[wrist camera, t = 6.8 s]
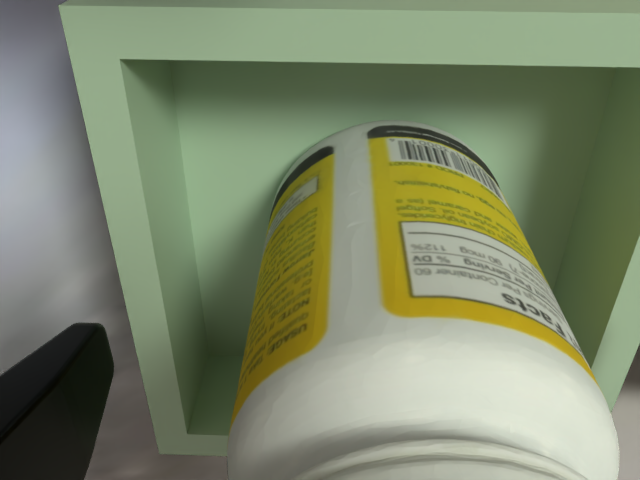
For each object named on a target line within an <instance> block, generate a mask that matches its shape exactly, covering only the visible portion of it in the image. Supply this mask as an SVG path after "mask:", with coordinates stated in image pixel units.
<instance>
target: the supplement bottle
mask: <svg viewBox="0 0 640 480" xmlns="http://www.w3.org/2000/svg"><path fill="white" fill-rule="evenodd" d="M227 469H228V480H617V478H618V472H619V444H618V437H617V432H616V429H615V426H614V423H613V419H612V416H611V413H610V410H609V407H608V404H607V402H606V399H605V397H604V395H603V393H602V391H601V389H600V387H599V385H598V383H597V381H596V379H595V377H594V375H593V373H592V371H591V369H590V367H589V364H588V362H587V361H586V359H585V357H584V355H583V353H582V351H581V349H580V347H579V345H578V343H577V341H576V339H575V336H574V334H573V332H572V330H571V329H570V327H569V325H568V323H567V321H566V319H565V317H564V315H563V313H562V311H561V309H560V307H559V304H558V302H557V300H556V298H555V296H554V294H553V292H552V290H551V289H550V287H549V285H548V283H547V281H546V279H545V277H544V274H543V272H542V270H541V268H540V266H539V264H538V262H537V260H536V258H535V256H534V254H533V252H532V250H531V249H530V247H529V244H528V242H527V240H526V238H525V236H524V234H523V232H522V231H521V229H520V227H519V225H518V223H517V221H516V219H515V217H514V215H513V213H512V211H511V209H510V207H509V205H508V203H507V201H506V199H505V197H504V195H503V193H502V192H501V190H500V187H499V185H498V182H497V181H496V179H495V177H494V176H493V174H492V172H491V171H490V169H489V168H488V166H487V165H486V163H485V162H484V161H483V160H482V159H481V157H480V156H479V155H478V154H477V153H476V152H475V151H474V150H473V149H472V148H470V147H469V146H468V145H467V144H465V143H464V142H463V141H461V140H460V139H459V138H457V137H455V136H453V135H452V134H450V133H448V132H446V131H443V130H441V129H439V128H436V127H433V126H430V125H426V124H423V123H419V122H414V121H405V120H380V121H372V122H367V123H362V124H358V125H355V126H352V127H349V128H346V129H344V130H341V131H339V132H337V133H335V134H333V135H331V136H329V137H327V138H325V139H324V140H322V141H320V142H319V143H317V144H316V145H315V146H313V147H312V148H310V149H309V150H308V151H307V152H306V153H304V154H303V155H302V156H301V157H300V158H299V159H298V160H297V161H296V162H295V163H294V164H293V166H292V167H291V168H290V169H289V171H288V172H287V174H286V175H285V177H284V178H283V180H282V182H281V184H280V186H279V188H278V191H277V193H276V196H275V199H274V202H273V205H272V210H271V215H270V220H269V225H268V230H267V234H266V239H265V245H264V250H263V256H262V261H261V267H260V272H259V277H258V282H257V287H256V293H255V298H254V304H253V309H252V315H251V320H250V325H249V330H248V335H247V341H246V346H245V351H244V356H243V361H242V366H241V372H240V378H239V384H238V389H237V394H236V399H235V404H234V409H233V414H232V419H231V425H230V431H229V437H228V444H227Z"/></svg>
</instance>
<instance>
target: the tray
mask: <svg viewBox="0 0 640 480" xmlns="http://www.w3.org/2000/svg"><path fill="white" fill-rule="evenodd" d="M58 7H59V11H60V16H61V20H62V24H63V29H64V33H65V38H66V42H67V47H68V51H69V56H70V60H71V64H72V69H73V73H74V78H75V82H76V87H77V91H78V95H79V100H80V104H81V109H82V113H83V118H84V122H85V127H86V131H87V135H88V140H89V144H90V149H91V153H92V158H93V162H94V166H95V171H96V175H97V180H98V184H99V189H100V193H101V198H102V202H103V206H104V211H105V215H106V220H107V224H108V229H109V233H110V237H111V242H112V246H113V251H114V255H115V260H116V264H117V269H118V273H119V277H120V282H121V286H122V291H123V295H124V300H125V304H126V308H127V313H128V317H129V322H130V326H131V331H132V335H133V340H134V344H135V348H136V353H137V357H138V362H139V366H140V371H141V375H142V379H143V384H144V388H145V393H146V397H147V402H148V406H149V411H150V415H151V419H152V424H153V428H154V433H155V437H156V442H157V446H158V450H159V454H172V455H201V456H227V444H228V437H229V431H230V425H231V419H232V414H233V409H234V404H235V399H236V394H237V389H238V384H239V378H240V372H241V366H242V361H243V356H244V351H245V346H246V341H247V335H248V330H249V325H250V320H251V315H252V309H253V304H254V298H255V293H256V287H257V282H258V277H259V272H260V267H261V261H262V256H263V250H264V245H265V239H266V234H267V230H268V225H269V220H270V215H271V210H272V205H273V202H274V199H275V196H276V193H277V191H278V188H279V186H280V184H281V182H282V180H283V178H284V177H285V175H286V174H287V172H288V171H289V169H290V168H291V167H292V166H293V164H294V163H295V162H296V161H297V160H298V159H299V158H300V157H301V156H302V155H303V154H304V153H306V152H307V151H308V150H309V149H310V148H312V147H313V146H315V145H316V144H317V143H319V142H320V141H322V140H324V139H325V138H327V137H329V136H331V135H333V134H335V133H337V132H339V131H341V130H344V129H346V128H349V127H352V126H355V125H358V124H362V123H367V122H372V121H380V120H405V121H414V122H419V123H423V124H426V125H430V126H433V127H436V128H439V129H441V130H443V131H446V132H448V133H450V134H452V135H453V136H455V137H457V138H459V139H460V140H461V141H463V142H464V143H465V144H467V145H468V146H469V147H470V148H472V149H473V150H474V151H475V152H476V153H477V154H478V155H479V156H480V157H481V159H482V160H483V161H484V162H485V163H486V165H487V166H488V168H489V169H490V171H491V172H492V174H493V176H494V177H495V179H496V181H497V182H498V185H499V187H500V190H501V192H502V193H503V195H504V197H505V199H506V201H507V203H508V205H509V207H510V209H511V211H512V213H513V215H514V217H515V219H516V221H517V223H518V225H519V227H520V229H521V231H522V232H523V234H524V236H525V238H526V240H527V242H528V244H529V247H530V249H531V250H532V252H533V254H534V256H535V258H536V260H537V262H538V264H539V266H540V268H541V270H542V272H543V274H544V277H545V279H546V281H547V283H548V285H549V287H550V289H551V290H552V292H553V294H554V296H555V298H556V300H557V302H558V304H559V307H560V309H561V311H562V313H563V315H564V317H565V319H566V321H567V323H568V325H569V327H570V329H571V330H572V332H573V334H574V336H575V339H576V341H577V343H578V345H579V347H580V349H581V351H582V353H583V355H584V357H585V359H586V361H587V362H588V364H589V367H590V369H591V371H592V373H593V375H594V377H595V379H596V381H597V383H598V385H599V387H600V389H601V391H602V393H603V395H604V397H605V399H606V402H607V404H608V407H609V410H610V413H611V412H612V410H613V407H614V405H615V402H616V400H617V397H618V395H619V393H620V390H621V388H622V385H623V383H624V380H625V378H626V375H627V373H628V371H629V368H630V366H631V363H632V361H633V358H634V356H635V354H636V351H637V349H638V346H639V344H640V0H68V1H66V2H64V3H62V4H60V5H58Z"/></svg>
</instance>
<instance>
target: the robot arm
mask: <svg viewBox="0 0 640 480" xmlns="http://www.w3.org/2000/svg"><path fill="white" fill-rule="evenodd" d="M113 373H114V362H113V357H112V354H111V350H110V346H109V342H108V338H107V334H106V331H105V328H104V327H103V325H101V324H99V323H75V324H73V325H71V326H69V327H68V328H66V329H65V330H64V331H62V332H61V333H59V334H58V335H57V336H55V337H54V338H52V339H51V340H50V341H48V342H47V343H45V344H44V345H43V346H41V347H40V348H38V349H37V350H36V351H34V352H33V353H31V354H30V355H28V356H27V357H26V358H24V359H23V360H21V361H20V362H19V363H17V364H16V365H14V366H13V367H12V368H10V369H9V370H7V371H6V372H5V373H3V374H2V375H0V480H84V478H85V475H86V472H87V469H88V467H89V463H90V460H91V456H92V453H93V449H94V446H95V442H96V438H97V434H98V431H99V427H100V423H101V419H102V416H103V412H104V408H105V405H106V401H107V397H108V393H109V390H110V386H111V382H112V378H113Z"/></svg>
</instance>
